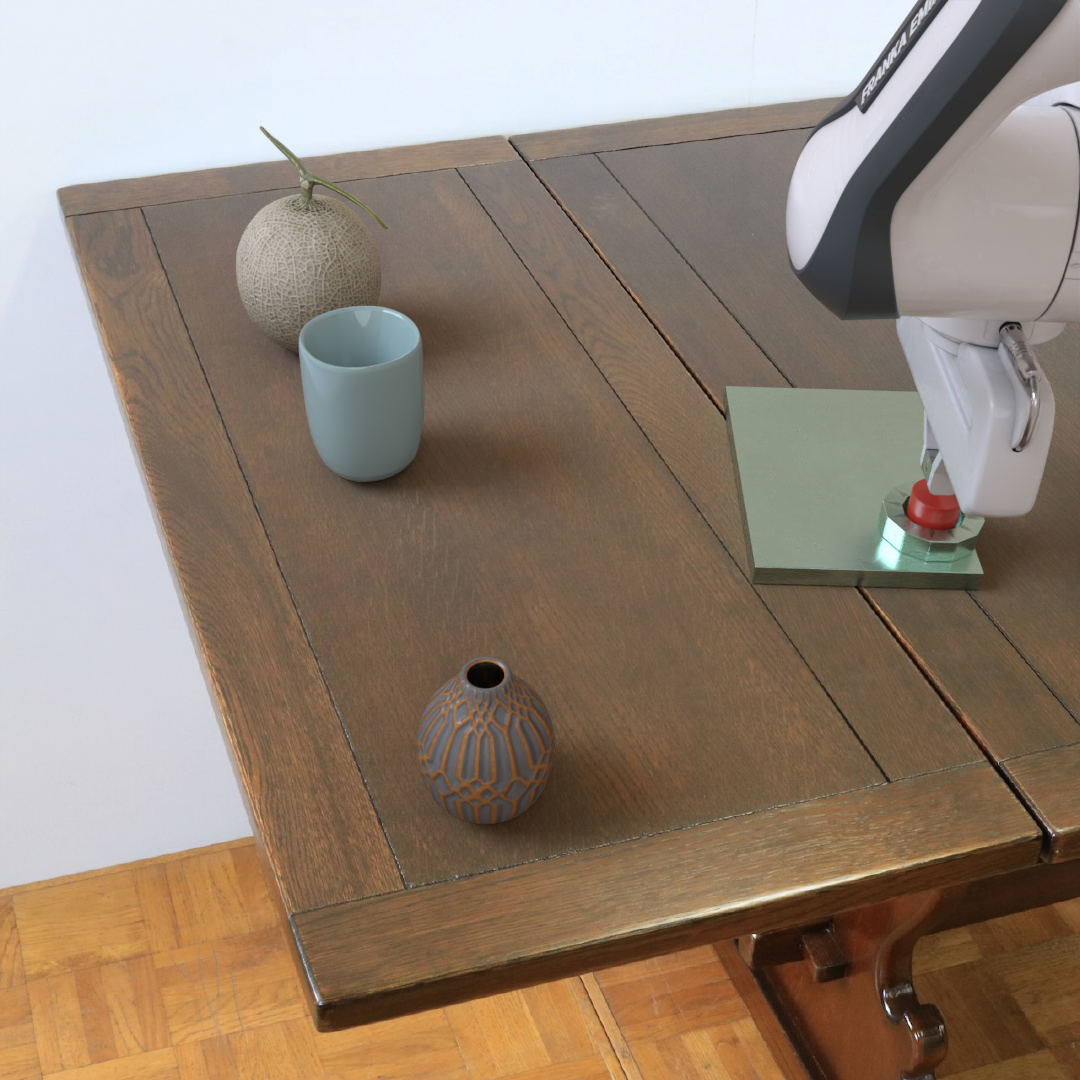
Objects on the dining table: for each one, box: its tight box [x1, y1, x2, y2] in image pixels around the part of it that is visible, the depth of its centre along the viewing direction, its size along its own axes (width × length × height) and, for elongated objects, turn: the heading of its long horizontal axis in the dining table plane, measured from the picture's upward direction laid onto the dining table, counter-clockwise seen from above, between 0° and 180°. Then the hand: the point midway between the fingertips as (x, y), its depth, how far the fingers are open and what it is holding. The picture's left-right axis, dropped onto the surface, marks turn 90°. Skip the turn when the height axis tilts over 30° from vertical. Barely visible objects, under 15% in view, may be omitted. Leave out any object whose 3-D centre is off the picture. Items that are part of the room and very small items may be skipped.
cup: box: [298, 305, 426, 483], centre depth 87 cm, size 8×8×10 cm
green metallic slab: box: [722, 385, 986, 591], centre depth 88 cm, size 20×14×3 cm
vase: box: [416, 656, 556, 825], centre depth 66 cm, size 7×7×9 cm
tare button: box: [907, 479, 961, 530], centre depth 82 cm, size 3×3×2 cm
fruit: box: [235, 125, 389, 354], centre depth 97 cm, size 10×12×15 cm
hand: (937, 481), depth 81 cm, fingers closed
